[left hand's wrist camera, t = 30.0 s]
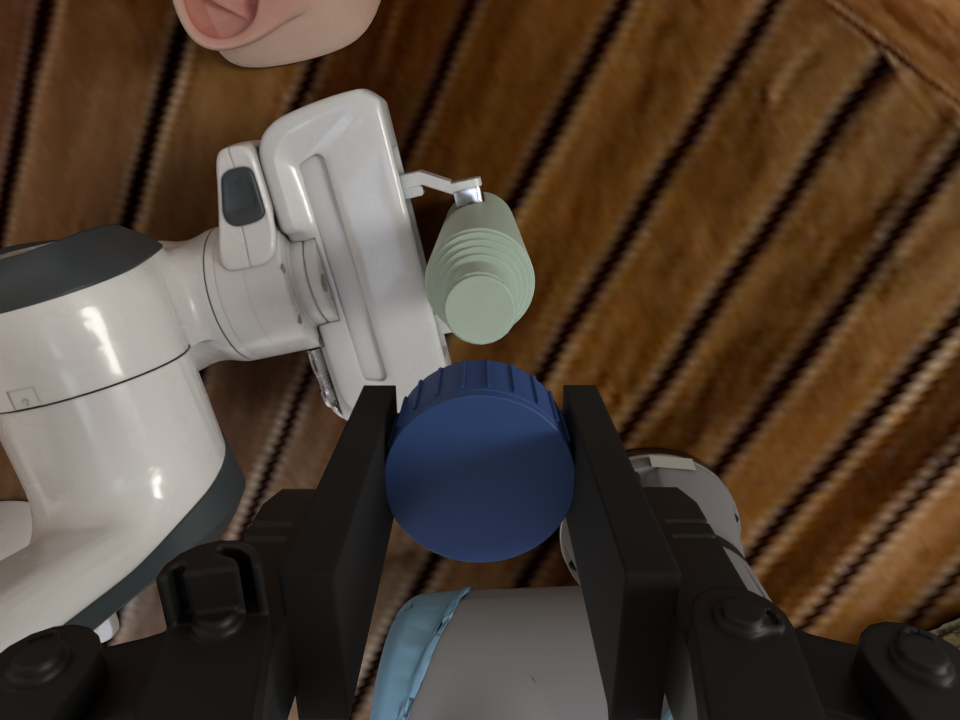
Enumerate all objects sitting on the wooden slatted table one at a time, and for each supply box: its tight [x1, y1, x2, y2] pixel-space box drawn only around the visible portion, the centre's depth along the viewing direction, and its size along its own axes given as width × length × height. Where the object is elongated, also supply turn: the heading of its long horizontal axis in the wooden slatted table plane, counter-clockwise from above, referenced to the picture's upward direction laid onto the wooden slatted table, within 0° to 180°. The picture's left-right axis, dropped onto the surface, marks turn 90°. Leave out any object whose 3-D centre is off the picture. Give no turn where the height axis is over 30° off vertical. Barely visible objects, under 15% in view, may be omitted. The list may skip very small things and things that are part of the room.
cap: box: [385, 359, 575, 562], centre depth 14 cm, size 4×4×2 cm
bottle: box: [425, 192, 535, 344], centre depth 34 cm, size 5×5×22 cm
